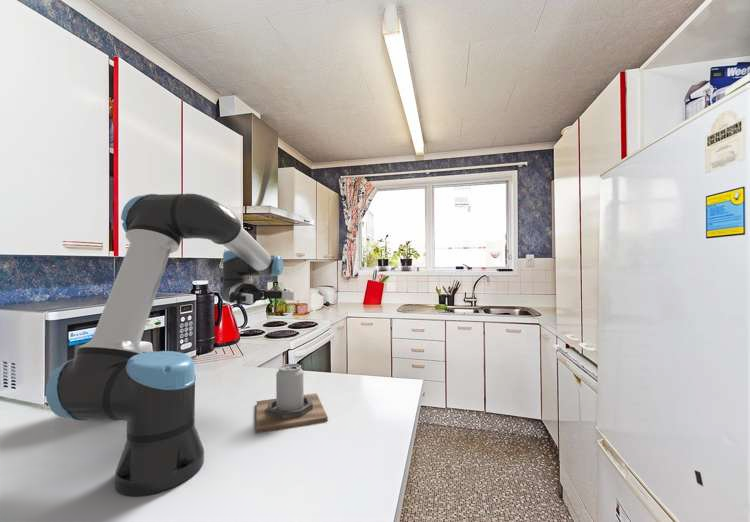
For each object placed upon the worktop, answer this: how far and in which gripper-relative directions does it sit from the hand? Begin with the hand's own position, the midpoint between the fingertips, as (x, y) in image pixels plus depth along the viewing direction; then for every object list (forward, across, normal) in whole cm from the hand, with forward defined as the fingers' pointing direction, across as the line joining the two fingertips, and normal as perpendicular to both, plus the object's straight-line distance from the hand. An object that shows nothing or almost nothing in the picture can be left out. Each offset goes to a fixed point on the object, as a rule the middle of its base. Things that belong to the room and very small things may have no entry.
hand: (273, 297), depth 102 cm
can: (+10, 0, -31) cm, 33 cm away
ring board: (+10, 0, -32) cm, 33 cm away
